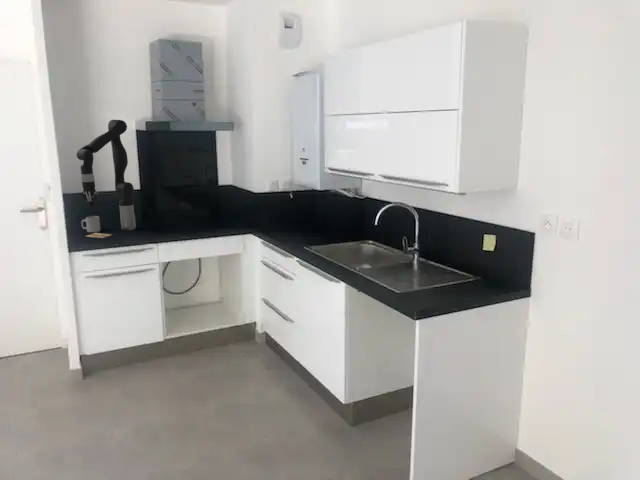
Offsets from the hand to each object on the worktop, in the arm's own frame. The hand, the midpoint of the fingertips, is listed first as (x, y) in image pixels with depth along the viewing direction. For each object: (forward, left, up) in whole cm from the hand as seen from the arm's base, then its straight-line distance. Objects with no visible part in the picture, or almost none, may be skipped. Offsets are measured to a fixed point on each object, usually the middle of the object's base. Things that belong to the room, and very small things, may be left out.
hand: (91, 206), depth 343 cm
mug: (-8, -9, -20) cm, 24 cm away
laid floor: (+2, +5, -20) cm, 21 cm away
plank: (+2, +2, -20) cm, 20 cm away
